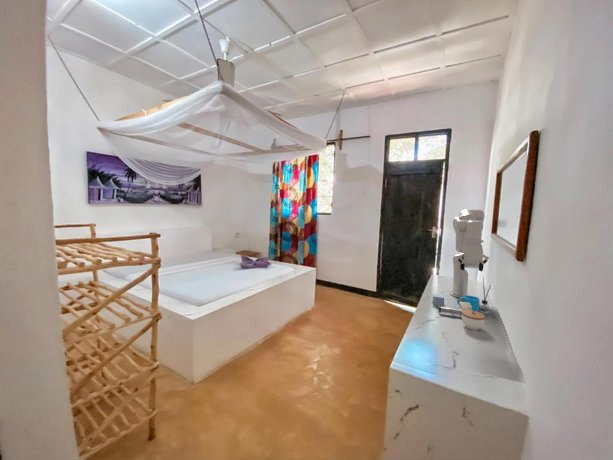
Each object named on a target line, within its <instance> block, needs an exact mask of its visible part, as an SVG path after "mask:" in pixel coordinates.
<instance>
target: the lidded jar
mask: <svg viewBox="0 0 613 460" xmlns="http://www.w3.org/2000/svg"><path fill="white" fill-rule="evenodd" d="M461 320H462V323H463V324H464V326H465V327H466V328H467V329H470V330H473V331H479V330H480V329H481V328H483V326H484V325H485V322H486V321H485V320H486V315H485V314H484V313H481V312H480V311H479V312H477V311H472V310H463V311H462V319H461Z"/></svg>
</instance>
